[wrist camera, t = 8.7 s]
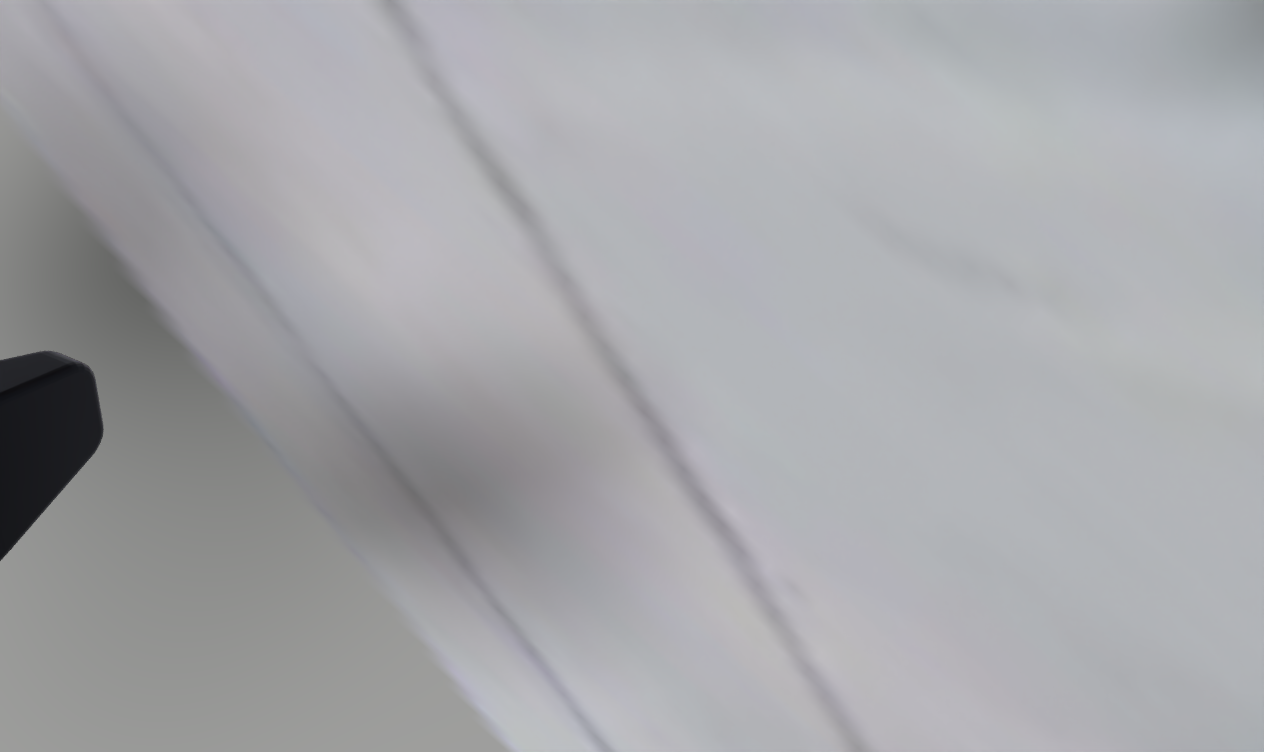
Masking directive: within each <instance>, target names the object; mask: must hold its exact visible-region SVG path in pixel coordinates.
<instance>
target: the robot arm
mask: <svg viewBox="0 0 1264 752" xmlns="http://www.w3.org/2000/svg"><path fill="white" fill-rule="evenodd" d="M102 437H103V421H102V415H101V409H100V404H99V397H98V392H97V386H96V380H95V376H94V373H93V371H92V370H91V369H90V367H89V366H87V365H86V364H84V363H82V362H80V361H77V360H75V359H73V358H70V357H68V356H65V355H63V354H60V353H58V352H53V351H42V352H36V353H32V354H27V355H23V356H18V357H14V358H9V359H4V360H0V561H1V559H3V557H4V556H5V555H6V554H7V553H8V552H9V551H10V550H11V549H12V547H13V546H14V545H15V544H16V543H17V542H18V540H19V539H20V538H21V537H22V536H23V535H24V534H25V532H26V531H27V530H28V529H29V528H30V527H31V526H32V524H33V523H34V522H35V521H36V520H37V519H38V517H39V516H40V515H41V514H42V513H43V512H44V511H45V509H46V508H47V507H48V506H49V505H50V504H51V502H52V501H53V500H54V499H55V498H56V497H57V496H58V494H59V493H60V492H61V491H62V490H63V488H65V486H66V485H67V484H68V483H69V482H70V481H71V479H72V478H73V477H74V476H75V475H76V474H77V473H78V471H79V470H80V469H81V468H82V467H83V466H84V465H85V463H86V462H87V461H88V460H89V459H90V458H91V456H92V455H93V454H94V453H95V451H96V450H97V448H98V446H99V444H100V442H101V439H102Z"/></svg>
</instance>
